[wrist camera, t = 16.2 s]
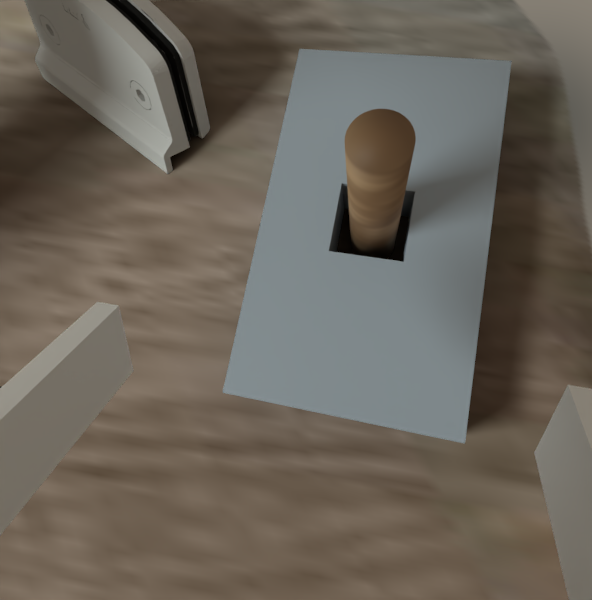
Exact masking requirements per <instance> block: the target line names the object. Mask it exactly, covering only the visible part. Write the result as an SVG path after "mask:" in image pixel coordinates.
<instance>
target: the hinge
mask: <svg viewBox="0 0 592 600" xmlns="http://www.w3.org/2000/svg"><path fill="white" fill-rule="evenodd" d="M25 3H26V5H27V8H28V11H29V13H30V16H31V19H32V21H33V24H34V27H35V29H36V32H37V34H38V37H39V40H40V46H39V49H38V52H37V54H36V57H35V61H36V64H37V66H38V68H39V70H40V72H41V74H42V76H43V78H44V79H45V80H46V81H47V82H49V83H50V84H51V85H53V86H54V87H55V88H57V89H58V90H59V91H60V92H62V93H63V94H64V95H66V96H67V97H68V98H70V99H71V100H72V101H73V102H75V103H76V104H77V105H79V106H80V107H81V108H83V109H84V110H85V111H86V112H88V113H89V114H90V115H92V116H93V117H94V118H96V119H97V120H98V121H99V122H101V123H102V124H103V125H105V126H106V127H107V128H109V129H110V130H111V131H112V132H114V133H115V134H116V135H118V136H119V137H120V138H122V139H123V140H124V141H125V142H127V143H128V144H129V145H131V146H132V147H133V148H135V149H136V150H137V151H138V152H140V153H141V154H142V155H144V156H145V157H146V158H148V159H149V160H150V161H152V162H153V163H154V164H155V165H157V166H158V167H159V168H161V169H162V170H163V171H165V172H166V173H167V174H169V173H170V172H171V171H172V170H173V168H172V164H171V160H170V157H171V156H173V155H175V154H177V153H179V152H181V151H183V150H185V149H187V148H190V146H189V141H190V140H191V139H190V135H189V133H191V134H192V135H193V136H195V137H196V136H197V135H198V136H199V137H201V138H202V139H203V137H204V136H205V135H206V134H207V133H208V132H209V130H210V124H209V120H208V115H207V110H206V106H205V101H204V97H203V92H202V87H201V83H200V78H199V74H198V69H197V64H196V60H195V55H194V51H193V48H192V46H191V44H190V42H189V41H188V39H187V38H186V37H185V36H184V35H183V34H182V33H181V31H180V30H179V29H178V28H177V27H176V26H175V25H174V24H173V23H172V22H171V21H170V20H169V19H168V18H167V17H166V16H165V15H164V14H163V13H162V12H161V11H160V10H159V9H158V8H157V7H156V6H155V5H154V4H153V3H152V2H150V1H149V0H25Z"/></svg>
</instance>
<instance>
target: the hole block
mask: <svg viewBox="0 0 592 600" xmlns="http://www.w3.org/2000/svg"><path fill="white" fill-rule="evenodd" d="M511 62H512V61H504V60H486V59H469V58H451V57H434V56H416V55H399V54H382V53H364V52H347V51H329V50H312V49H299V54H298V58H297V63H296V67H295V72H294V76H293V81H292V85H291V89H290V94H289V98H288V103H287V107H286V112H285V116H284V121H283V125H282V130H281V134H280V139H279V143H278V148H277V152H276V156H275V161H274V165H273V170H272V174H271V179H270V183H269V188H268V192H267V197H266V201H265V206H264V210H263V214H262V219H261V223H260V228H259V232H258V237H257V241H256V246H255V250H254V255H253V259H252V264H251V268H250V272H249V277H248V281H247V286H246V290H245V295H244V299H243V304H242V308H241V313H240V317H239V322H238V326H237V330H236V335H235V339H234V344H233V348H232V353H231V357H230V362H229V366H228V371H227V375H226V380H225V384H224V388H223V393H227V394H232V395H237V396H241V397H246V398H251V399H256V400H260V401H265V402H270V403H275V404H279V405H284V406H289V407H294V408H299V409H303V410H308V411H313V412H318V413H322V414H327V415H332V416H337V417H341V418H346V419H351V420H356V421H360V422H365V423H370V424H375V425H379V426H384V427H389V428H394V429H398V430H403V431H408V432H413V433H417V434H422V435H427V436H432V437H436V438H441V439H446V440H451V441H455V442H460V443H465V439H466V431H467V423H468V415H469V406H470V398H471V390H472V382H473V373H474V365H475V357H476V349H477V341H478V332H479V324H480V316H481V308H482V300H483V291H484V283H485V275H486V267H487V259H488V250H489V242H490V234H491V226H492V218H493V209H494V201H495V193H496V185H497V176H498V168H499V160H500V152H501V144H502V135H503V127H504V119H505V111H506V103H507V94H508V86H509V78H510V70H511ZM373 109H390V110H394V111H396V112H399V113H401V114H402V115H404V116H405V117H406V118H407V119H408V120H409V121H410V122H411V124H412V126H413V128H414V131H415V136H416V141H415V147H414V152H413V157H412V162H411V167H410V172H409V176H408V181H407V186H406V191H405V196H404V201H403V206H402V211H401V216H406V217H409V221H408V227H407V233H406V240H405V246H404V252H403V258H402V261H396V260H389V259H381V258H374V257H367V256H360V255H353V254H346V253H339V252H337V247H338V242H339V236H340V231H341V226H342V220H343V215H344V210H345V209H349V203H348V188H347V173H346V158H345V134H346V131H347V129H348V127H349V125H350V124H351V123H352V121H353V120H354V119H355V118H357V117H358V116H359V115H361V114H362V113H364V112H367V111H370V110H373Z"/></svg>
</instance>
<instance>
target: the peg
mask: <svg viewBox="0 0 592 600" xmlns="http://www.w3.org/2000/svg"><path fill="white" fill-rule="evenodd" d="M415 141H416V136H415V131H414V128H413V126H412V124H411V122H410V121H409V120H408V119H407V118H406V117H405V116H404V115H402V114H401V113H399V112H396V111H394V110H390V109H373V110H370V111H367V112H364V113H362V114H361V115H359V116H358V117H357V118H355V119H354V120H353V121H352V123H351V124H350V125H349V127H348V129H347V131H346V134H345V158H346V173H347V188H348V203H349V218H350V233H351V247H352V251H353V253H354V255H360V256H367V257H374V258H381V259H388V258H389V257H390V255H391V254H392V252H393V250H394V245H395V240H396V235H397V230H398V226H399V221H400V216H401V211H402V206H403V201H404V196H405V191H406V186H407V181H408V176H409V172H410V167H411V162H412V157H413V152H414V147H415Z"/></svg>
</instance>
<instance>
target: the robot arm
mask: <svg viewBox="0 0 592 600" xmlns="http://www.w3.org/2000/svg"><path fill="white" fill-rule="evenodd" d="M133 371H134V370H133V366H132V361H131V357H130V353H129V348H128V344H127V339H126V335H125V330H124V326H123V321H122V317H121V313H120V308H119V306H118V305H113V304H107V303H101V302H97V303H96V304H94V305H93V306H92V307H91V308H90V309H89V310H88V311H87V312H85V313H84V314H83V315H82V316H81V317H80V318H79V319H78V320H76V321H75V322H74V323H73V324H72V325H71V326H70V327H69V328H67V329H66V330H65V331H64V332H63V333H62V334H61V335H60V336H58V337H57V338H56V339H55V340H54V341H53V342H52V343H51V344H50V345H48V346H47V347H46V348H45V349H44V350H43V351H42V352H41V353H39V354H38V355H37V356H36V357H35V358H34V359H33V360H32V361H30V362H29V363H28V364H27V365H26V366H25V367H24V368H23V369H21V370H20V371H19V372H18V373H17V374H16V375H15V376H14V377H13V378H11V379H10V380H9V381H8V382H7V383H6V384H5V385H4V386H2V387H0V535H1V534H2V533H3V531H4V530H5V529H6V528H7V527H8V525H9V524H10V523H11V522H12V520H13V519H14V518H15V517H16V515H17V514H18V513H19V512H20V510H21V509H22V508H23V507H24V506H25V504H26V503H27V502H28V501H29V499H30V498H31V497H32V496H33V494H34V493H35V492H36V491H37V489H38V488H39V487H40V486H41V485H42V483H43V482H44V481H45V480H46V478H47V477H48V476H49V475H50V473H51V472H52V471H53V470H54V469H55V467H56V466H57V465H58V464H59V462H60V461H61V460H62V459H63V457H64V456H65V455H66V454H67V452H68V451H69V450H70V449H71V448H72V446H73V445H74V444H75V443H76V441H77V440H78V439H79V438H80V436H81V435H82V434H83V433H84V431H85V430H86V429H87V428H88V427H89V425H90V424H91V423H92V422H93V420H94V419H95V418H96V417H97V415H98V414H99V413H100V412H101V411H102V409H103V408H104V407H105V406H106V404H107V403H108V402H109V401H110V399H111V398H112V397H113V396H114V394H115V393H116V392H117V391H118V390H119V388H120V387H121V386H122V385H123V383H124V382H125V381H126V380H127V378H128V377H129V376H130V375H131V373H132V372H133ZM535 458H536V462H537V466H538V470H539V475H540V479H541V483H542V487H543V492H544V496H545V500H546V504H547V509H548V513H549V517H550V521H551V526H552V530H553V534H554V538H555V543H556V547H557V551H558V555H559V560H560V564H561V568H562V572H563V577H564V581H565V585H566V589H567V594H568V598H569V600H592V389H589V388H584V387H578V386H572V385H568V386H567V388H566V390H565V392H564V394H563V396H562V398H561V400H560V402H559V404H558V406H557V408H556V410H555V412H554V414H553V416H552V418H551V420H550V422H549V424H548V426H547V428H546V430H545V432H544V434H543V436H542V438H541V440H540V442H539V444H538V446H537V448H536V450H535Z"/></svg>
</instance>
